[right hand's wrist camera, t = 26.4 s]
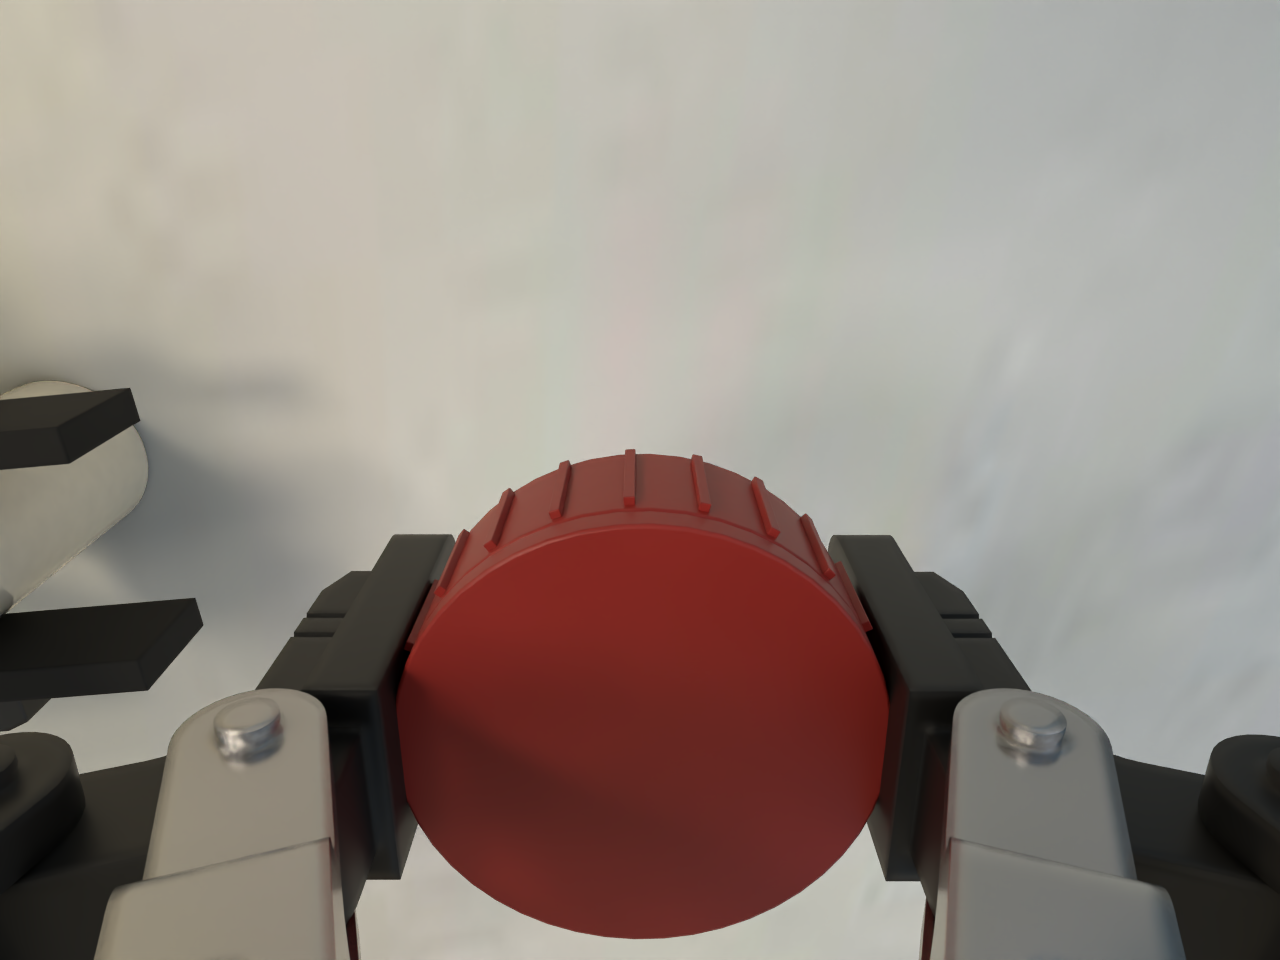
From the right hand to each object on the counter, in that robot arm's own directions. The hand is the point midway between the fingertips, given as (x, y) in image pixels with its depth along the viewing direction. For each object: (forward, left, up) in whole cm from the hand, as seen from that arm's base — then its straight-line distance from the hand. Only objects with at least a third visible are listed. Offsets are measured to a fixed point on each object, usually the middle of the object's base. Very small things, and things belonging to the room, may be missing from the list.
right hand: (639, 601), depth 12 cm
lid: (0, 0, +3) cm, 3 cm away
